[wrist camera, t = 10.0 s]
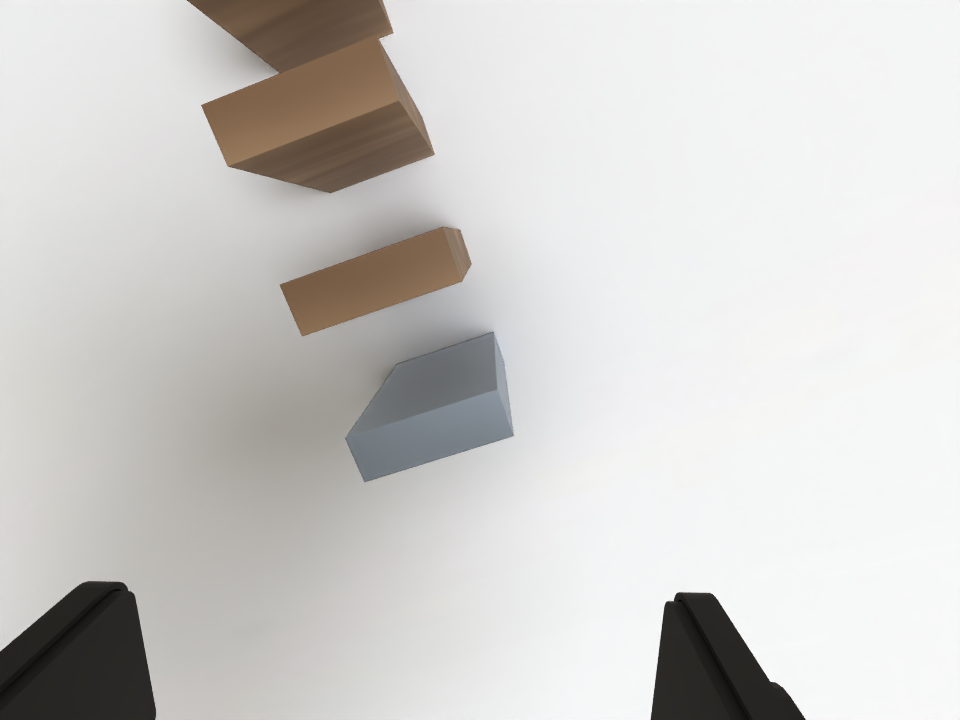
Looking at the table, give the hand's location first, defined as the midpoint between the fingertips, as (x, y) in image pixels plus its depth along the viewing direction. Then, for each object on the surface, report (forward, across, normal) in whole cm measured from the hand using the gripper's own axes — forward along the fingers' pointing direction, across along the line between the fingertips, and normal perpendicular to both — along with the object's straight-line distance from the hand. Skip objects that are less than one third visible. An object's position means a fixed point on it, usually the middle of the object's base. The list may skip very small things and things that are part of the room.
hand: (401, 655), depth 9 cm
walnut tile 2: (+16, +4, -11) cm, 20 cm away
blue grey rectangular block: (+16, 0, -1) cm, 16 cm away
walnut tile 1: (+16, +2, -6) cm, 17 cm away
